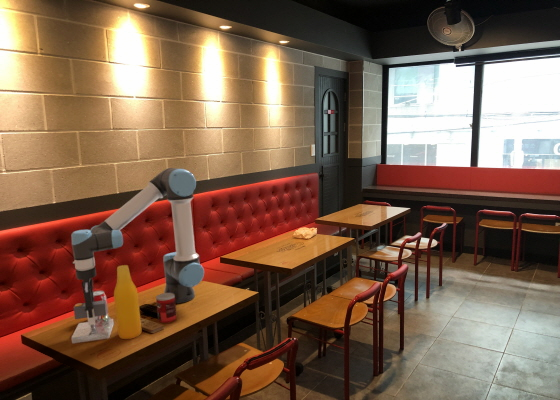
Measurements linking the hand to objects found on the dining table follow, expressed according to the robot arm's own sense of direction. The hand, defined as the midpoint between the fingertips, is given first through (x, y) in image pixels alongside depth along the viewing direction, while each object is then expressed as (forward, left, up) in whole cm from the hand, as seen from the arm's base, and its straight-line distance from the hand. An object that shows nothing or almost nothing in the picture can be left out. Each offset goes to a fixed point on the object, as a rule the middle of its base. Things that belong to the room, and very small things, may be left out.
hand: (92, 321), depth 191 cm
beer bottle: (-15, +6, -5) cm, 17 cm away
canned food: (-30, -4, -5) cm, 31 cm away
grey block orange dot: (0, 0, -2) cm, 2 cm away
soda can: (0, -16, -5) cm, 17 cm away
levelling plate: (0, 0, -5) cm, 5 cm away
